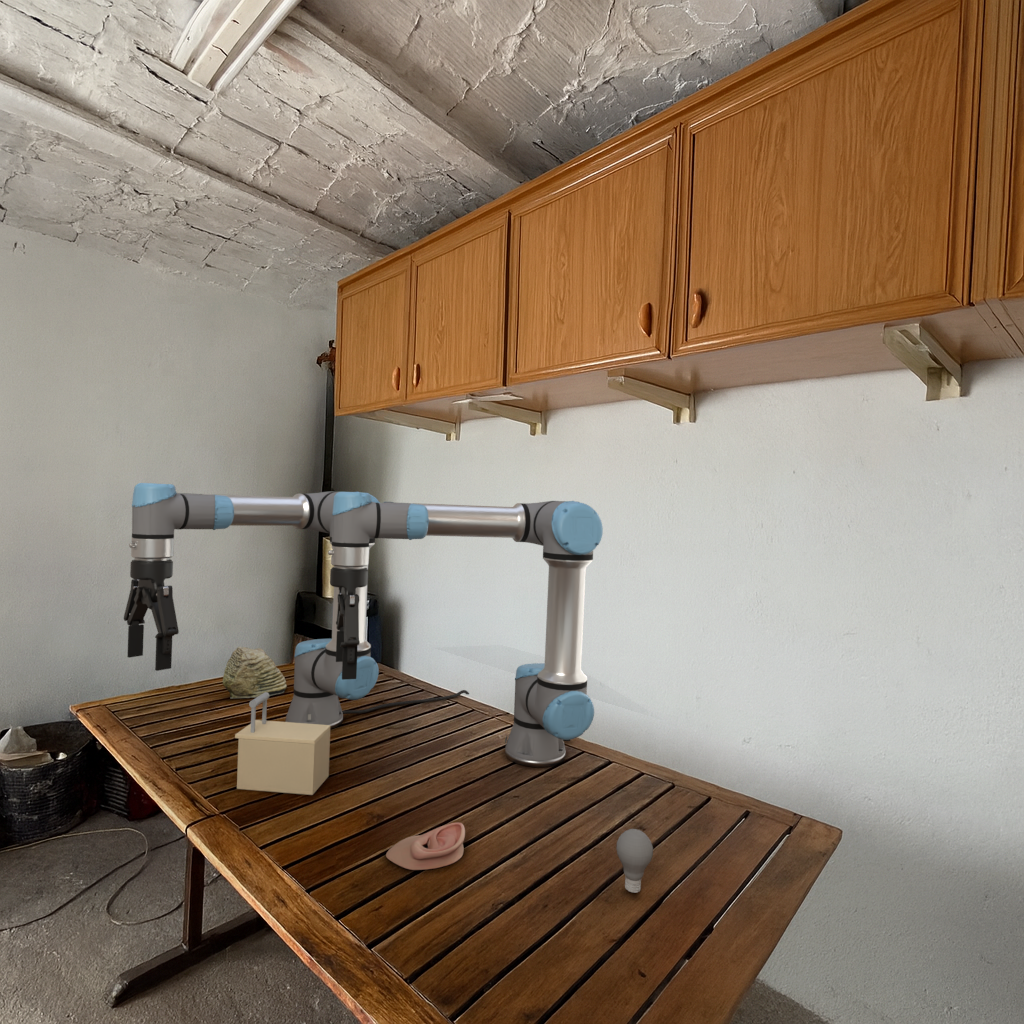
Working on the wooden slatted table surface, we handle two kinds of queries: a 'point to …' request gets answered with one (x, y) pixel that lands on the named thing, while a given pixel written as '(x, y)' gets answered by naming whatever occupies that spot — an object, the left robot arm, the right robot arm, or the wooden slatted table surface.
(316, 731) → the lid
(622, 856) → the light bulb
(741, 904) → the wooden slatted table surface
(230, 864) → the wooden slatted table surface
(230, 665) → the fossil
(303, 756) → the chest
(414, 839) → the anatomical model
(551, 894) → the wooden slatted table surface
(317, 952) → the wooden slatted table surface
